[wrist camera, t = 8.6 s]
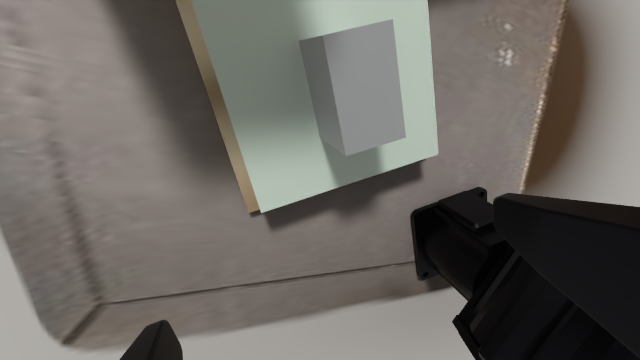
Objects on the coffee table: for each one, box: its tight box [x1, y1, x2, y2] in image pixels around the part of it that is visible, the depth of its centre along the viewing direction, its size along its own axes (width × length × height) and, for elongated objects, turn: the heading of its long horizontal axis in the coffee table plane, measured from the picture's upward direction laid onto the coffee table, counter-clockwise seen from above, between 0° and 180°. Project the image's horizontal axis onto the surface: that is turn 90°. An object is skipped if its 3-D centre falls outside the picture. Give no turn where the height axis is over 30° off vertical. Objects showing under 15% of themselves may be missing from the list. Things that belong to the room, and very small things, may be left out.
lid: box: [191, 0, 438, 213], centre depth 16 cm, size 12×12×6 cm
